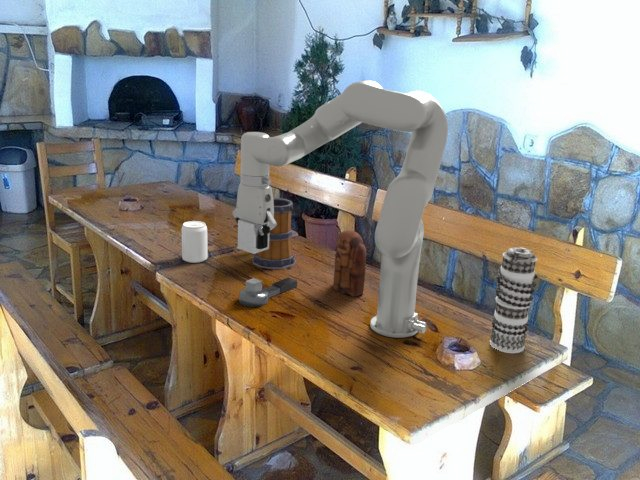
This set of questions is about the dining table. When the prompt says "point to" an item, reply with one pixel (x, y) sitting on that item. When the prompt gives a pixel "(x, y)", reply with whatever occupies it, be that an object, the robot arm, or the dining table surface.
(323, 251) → the dining table surface
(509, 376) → the dining table surface
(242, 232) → the brushed metal cube
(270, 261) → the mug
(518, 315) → the decorative candle
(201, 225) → the beverage can
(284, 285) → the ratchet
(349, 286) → the wooden figurine
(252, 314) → the dining table surface
